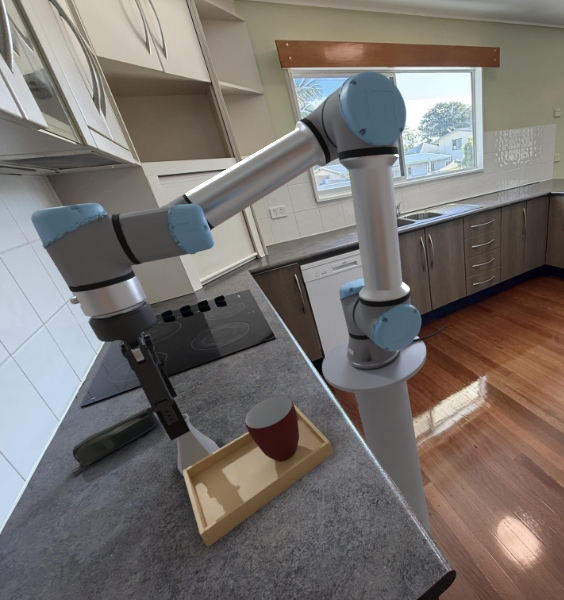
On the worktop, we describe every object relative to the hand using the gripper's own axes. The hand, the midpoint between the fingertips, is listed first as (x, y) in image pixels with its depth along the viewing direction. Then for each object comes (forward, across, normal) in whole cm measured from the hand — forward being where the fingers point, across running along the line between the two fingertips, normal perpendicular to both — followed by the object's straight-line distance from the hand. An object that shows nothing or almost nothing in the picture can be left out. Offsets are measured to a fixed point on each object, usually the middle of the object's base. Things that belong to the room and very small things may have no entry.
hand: (174, 415), depth 56 cm
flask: (+11, 0, 0) cm, 11 cm away
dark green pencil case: (+12, -19, -12) cm, 25 cm away
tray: (+11, +12, +8) cm, 18 cm away
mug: (+10, +12, +12) cm, 20 cm away
